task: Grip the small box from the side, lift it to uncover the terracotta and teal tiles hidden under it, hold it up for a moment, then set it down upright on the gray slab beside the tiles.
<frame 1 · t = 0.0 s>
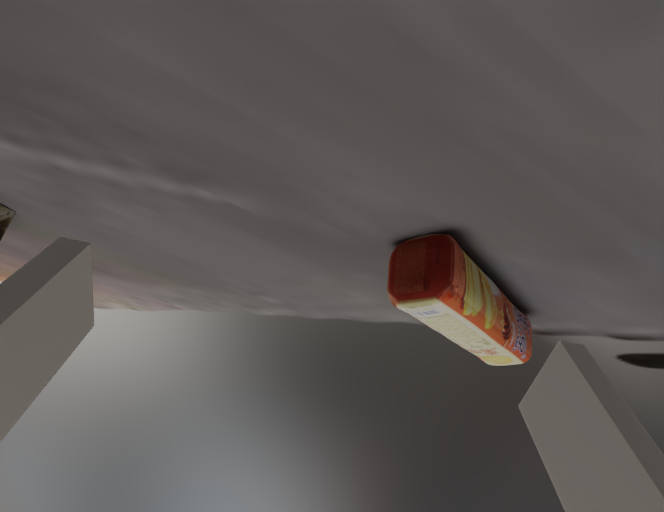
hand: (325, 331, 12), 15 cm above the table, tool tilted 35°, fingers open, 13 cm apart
snack package: (471, 277, 44), on the table
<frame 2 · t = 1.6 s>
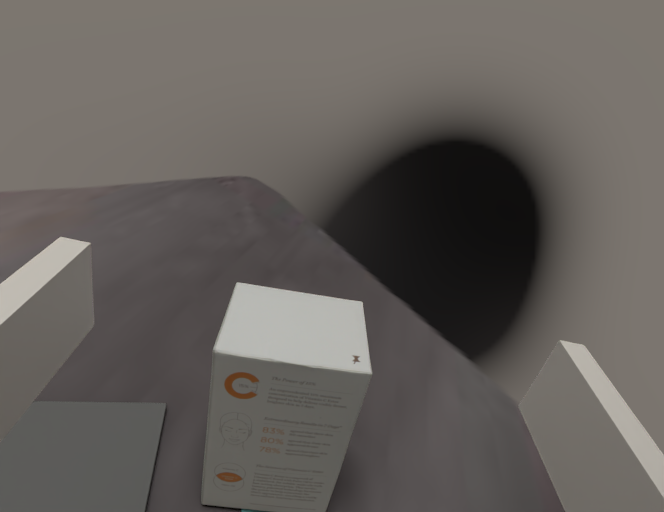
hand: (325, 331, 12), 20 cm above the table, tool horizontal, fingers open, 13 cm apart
small box: (268, 468, 31), on the table, touching code tiles
gray slab: (69, 472, 28), on the table
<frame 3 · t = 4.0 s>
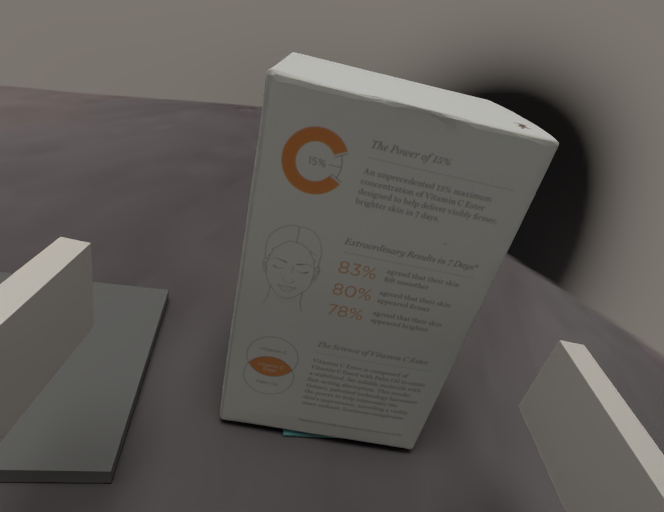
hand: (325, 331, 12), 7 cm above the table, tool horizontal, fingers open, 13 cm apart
small box: (318, 382, 20), on the table, touching code tiles
gray slab: (11, 361, 17), on the table
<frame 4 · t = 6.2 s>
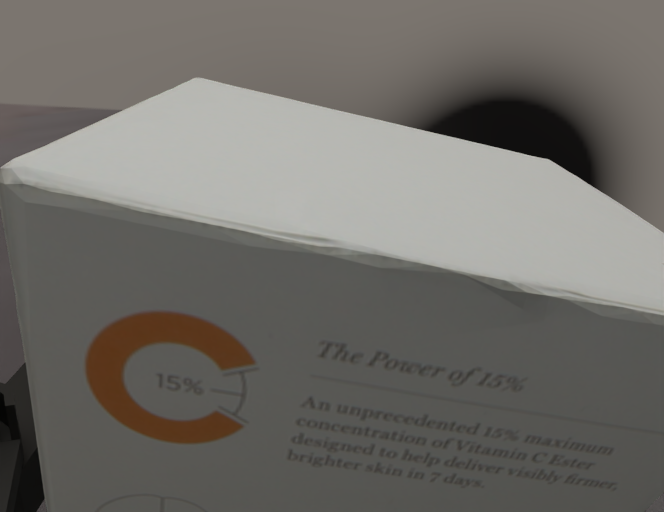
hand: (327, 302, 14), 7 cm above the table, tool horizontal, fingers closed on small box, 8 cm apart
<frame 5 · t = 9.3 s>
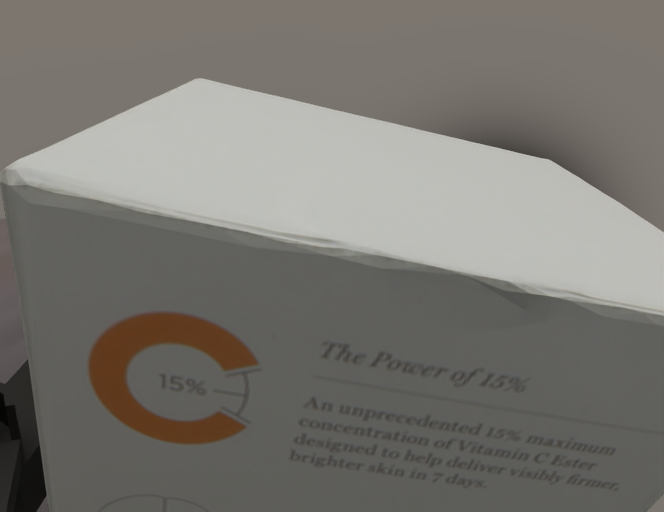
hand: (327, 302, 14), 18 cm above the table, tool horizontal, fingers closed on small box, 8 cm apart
when the fingers open (8 cm above the table, at t = 12.7 s): small box stays where it is, resting on gray slab.
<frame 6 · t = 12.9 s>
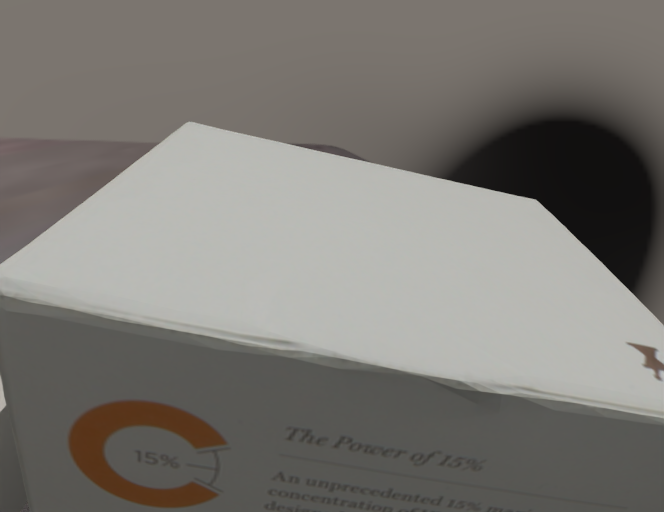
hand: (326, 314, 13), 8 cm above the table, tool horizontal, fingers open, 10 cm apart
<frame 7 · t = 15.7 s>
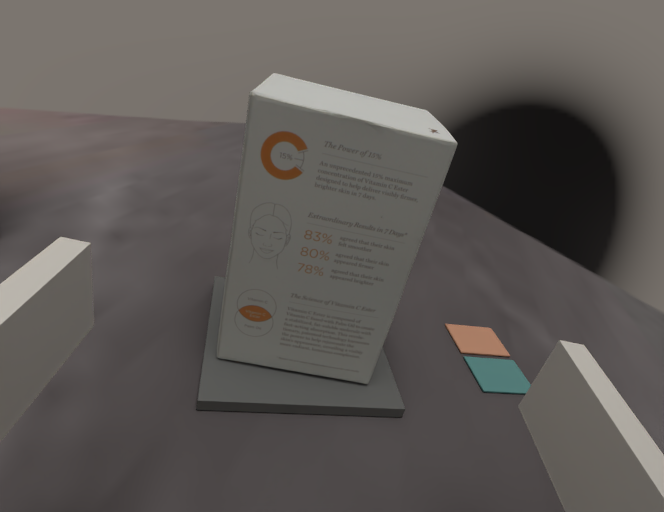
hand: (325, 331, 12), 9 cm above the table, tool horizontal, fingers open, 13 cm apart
code tiles: (487, 357, 28), on the table
small box: (296, 336, 25), resting on gray slab
gray slab: (296, 342, 25), on the table
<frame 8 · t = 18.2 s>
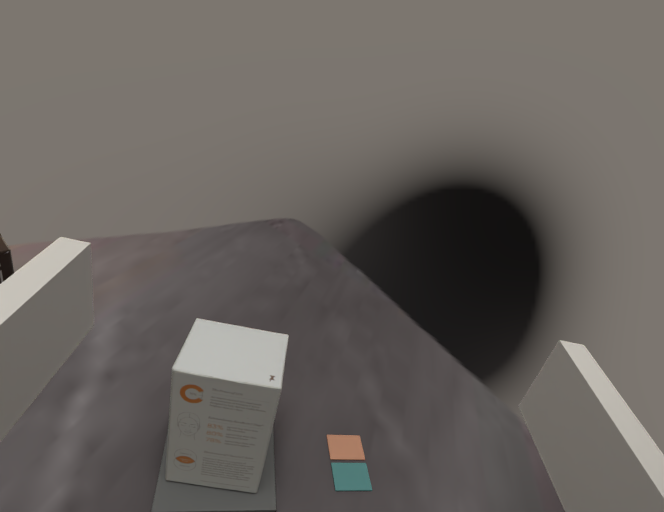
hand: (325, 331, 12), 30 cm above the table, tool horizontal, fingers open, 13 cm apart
code tiles: (348, 461, 44), on the table
small box: (219, 457, 40), resting on gray slab
gray slab: (219, 460, 41), on the table
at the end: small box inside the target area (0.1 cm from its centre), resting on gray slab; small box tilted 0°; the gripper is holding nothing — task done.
